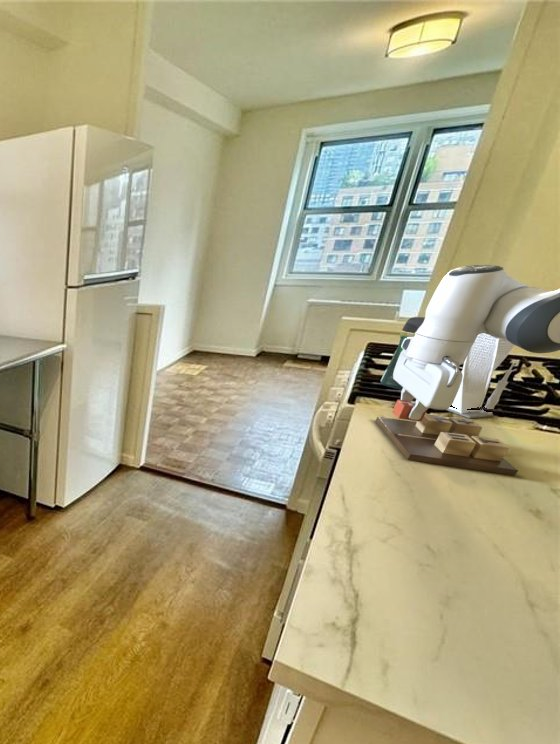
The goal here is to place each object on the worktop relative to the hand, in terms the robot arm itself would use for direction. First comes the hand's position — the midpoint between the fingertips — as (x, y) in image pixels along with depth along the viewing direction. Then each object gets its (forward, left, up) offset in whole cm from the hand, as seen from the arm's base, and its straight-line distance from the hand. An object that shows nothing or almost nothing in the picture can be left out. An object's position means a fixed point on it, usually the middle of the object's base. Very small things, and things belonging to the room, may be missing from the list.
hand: (407, 413), depth 104 cm
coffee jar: (-11, -36, -5) cm, 38 cm away
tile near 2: (-5, 0, -3) cm, 6 cm away
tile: (-5, +10, -3) cm, 12 cm away
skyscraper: (-18, -21, -5) cm, 28 cm away
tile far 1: (-10, +10, -3) cm, 14 cm away
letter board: (-5, +5, -4) cm, 8 cm away
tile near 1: (-10, 0, -3) cm, 10 cm away
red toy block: (0, 0, -1) cm, 1 cm away
